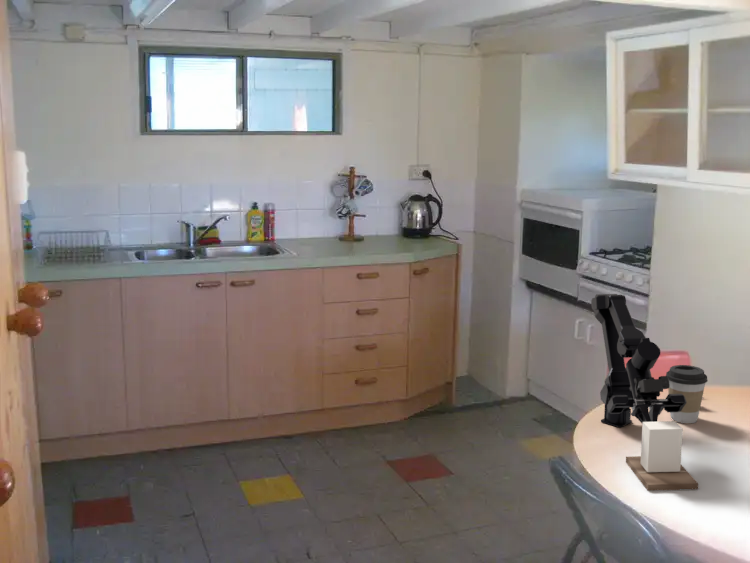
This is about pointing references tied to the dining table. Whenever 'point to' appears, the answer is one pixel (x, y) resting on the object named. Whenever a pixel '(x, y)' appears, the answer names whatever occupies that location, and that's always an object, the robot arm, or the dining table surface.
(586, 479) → the dining table surface
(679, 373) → the coffee cup
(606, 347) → the robot arm
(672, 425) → the block
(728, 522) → the dining table surface
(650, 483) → the board
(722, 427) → the dining table surface
